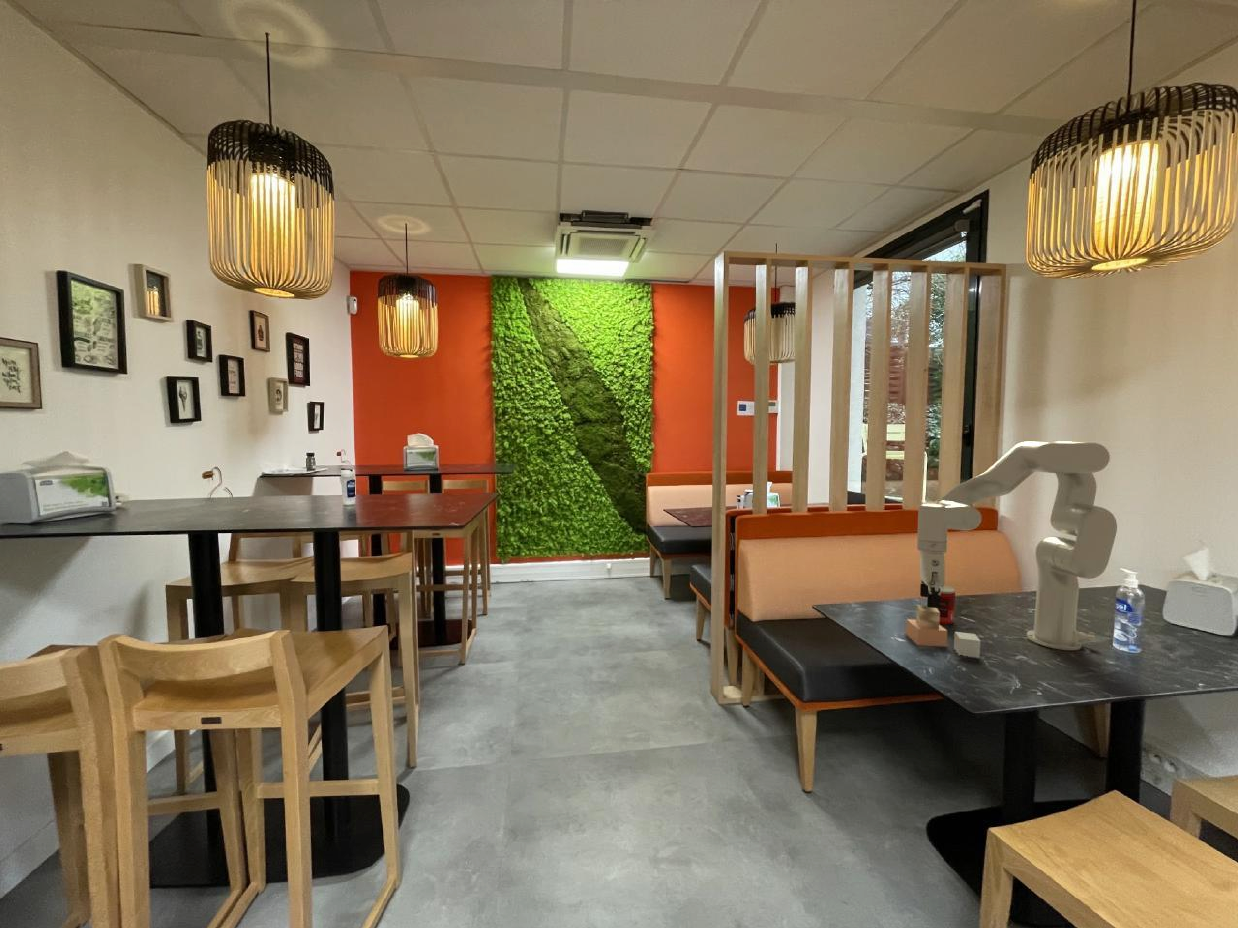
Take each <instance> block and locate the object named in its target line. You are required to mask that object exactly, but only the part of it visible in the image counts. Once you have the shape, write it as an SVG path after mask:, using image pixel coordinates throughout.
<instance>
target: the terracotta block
mask: <svg viewBox="0 0 1238 928" xmlns="http://www.w3.org/2000/svg"><path fill="white" fill-rule="evenodd" d="M905 623H906V624H905V635H906V636H907V637H908V638H909V639H910V640H911V639H912V640H913V641H912V640H911V641H912V642H914V643H915V645H917V646H928V647H942V648H943V647H944V648H946V647H947V643H948V630H947V629H946V628H944V627H943V626H942V624H939V629H934V628H926V627H920V626H919V625H918V623H917V621H916V619H914V618H913V619H910V618H906V622H905Z"/></svg>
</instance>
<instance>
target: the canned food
mask: <svg viewBox="0 0 1238 928" xmlns="http://www.w3.org/2000/svg"><path fill="white" fill-rule="evenodd" d="M940 589H941V590H940V592H941V601H940V608H937V609H938V611H939V612H940V620H939V625H951V624H953V622H954V617H955V606H956V605H955V604H956V602H955V601H956V589H955V588H953V587H951V586H949V585H945V586H944V587H941V585H940ZM926 598H927V599H928V597H926ZM927 599H926V600H927Z"/></svg>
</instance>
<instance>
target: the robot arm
mask: <svg viewBox="0 0 1238 928" xmlns="http://www.w3.org/2000/svg"><path fill="white" fill-rule="evenodd" d="M1110 456H1111V455H1110V452H1109V450H1108V449H1107V447H1105V446H1103V445H1102V444H1101V443H1098V442H1092V441H1090V442H1089V441H1074V440H1073V441H1072V440H1071V441H1070V440H1069V441H1068V440H1060V441H1059V440H1058V441H1053V442H1049V441H1035V440H1034V441H1033V440H1031V441H1029V440H1027V441H1022V442H1021V441H1020V442H1019V443H1017V444H1016V445H1014V446H1013V447H1012V448H1010V449H1009V450H1008V451H1006V453H1005V454H1004V455H1003V456H1001V457H1000V458H999V459H998V460H997V461H996V462H995V463H993V465H991V466H990V467H988V469H987V470H985V471H984V472H983V473H981V474H979V475H976V476H974V477H972V478H970V479H968V480H966V481H964V482H961V483H959V484H958V485H956V486H954V487H953V488H951V489H949V491H947V493H946V494H945V495H943V496H942V497H941V498H940V499H939V500H938V501H937V502H936V503H935V502H934V503H932V502H931V503H930V502H929V503H922V504H920V505H919V507H918V511H917V513H918V515H917V539H916V540H917V542H916V543H917V544H916V550H917V551H920V555H919V556H920V557H919V577H920V584H919V586H920V588H919V596H920V597H923V598H928V599H926V600H927V602H926V606H928V607H929V608H940V601H941V592H940V590H941V589H940V585H941V587H944V586H946V575H945V574H946V571H945V565H946V564H945V563H946V562H945V554H946V553H947V548H948V530H956V531H957V530H958V531H971V530H974V529H976V528H978V526H980V524H981V523H982V514H981V512H980V511H979V510H978V509H977V508H976V507H974V506H973V504H975V503H977V502H979V501H983V500H987V499H992V498H999V497H1002V496H1007V495H1009V494H1011V493H1012V492H1013V491H1014V490H1015V489H1017V487H1019V486H1020V485H1021V484H1022V483H1023V482H1024V481H1026V480H1027V479H1028V478H1029V477H1031V475H1033V474H1034V473H1036V472H1041V473H1049V474H1055V475H1056V478H1057V482H1058V483H1057V484H1058V486H1057V491H1056V496H1055V499H1054V502H1053V503H1054V504H1053V507H1052V510H1051V514H1050V525H1051V527H1052V528H1053V529H1054V530H1056V531H1057V532H1059V533H1062V534H1065V535H1069V536H1075V537H1076V538H1075V540H1073V539H1070V538H1066V537H1062V536H1048V537H1045V538H1043V539H1040V541H1039V542H1038V543H1037V545H1036V547H1035V561H1036V566H1037V581H1036V583H1037V584H1036V594H1035V608H1034V620H1033V621H1034V623H1033V630H1028V631H1027V632H1026V638H1027V639H1029V641H1030V642H1034V643H1035V644H1038V645H1040V646H1044V647H1046V648H1047V647H1048V648H1051V649H1055V650H1061V651H1078V650H1080V649H1081V648H1082V642H1083V641H1084V642H1090V643H1096V641H1097V638H1096V636H1095V635H1093V634H1087V633H1086V632H1082V631H1079V630H1077V629H1076V628H1077V616H1078V603H1079V593H1080V585H1079V584H1080V583H1079V579H1078V578H1080V579H1086V580H1093V579H1095V578H1098V577H1100V576H1101V575H1102V574H1103V573H1104V572H1105V571H1106V568H1107V566H1108V565H1109V562H1110V558H1111V554H1112V550H1113V547H1114V543H1115V541H1116V540H1115V539H1116V536H1117V533H1118V523H1117V520H1116V517H1115V515H1114V514H1113V513H1112V512H1111V511H1110V510H1109V509H1106V508H1103V507H1102V506H1096V505H1094V503H1095V499H1096V493H1097V488H1098V487H1097V482H1096V481H1097V480H1096V478H1095V475H1094V474H1095V473H1098V472H1100V471H1103V470H1104V469H1105V468H1106V467H1107V466H1108V465H1109V463H1110V459H1111V457H1110Z"/></svg>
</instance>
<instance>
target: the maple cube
mask: <svg viewBox="0 0 1238 928" xmlns="http://www.w3.org/2000/svg"><path fill="white" fill-rule="evenodd" d="M915 620H916V621H917V623H918V625H919V626H920V627H926V628H934V629H939V625H940V624H939V620H940V612H939V611H938V609H937V608H929V607H928V606H927V605H921V604H916V616H915Z"/></svg>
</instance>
